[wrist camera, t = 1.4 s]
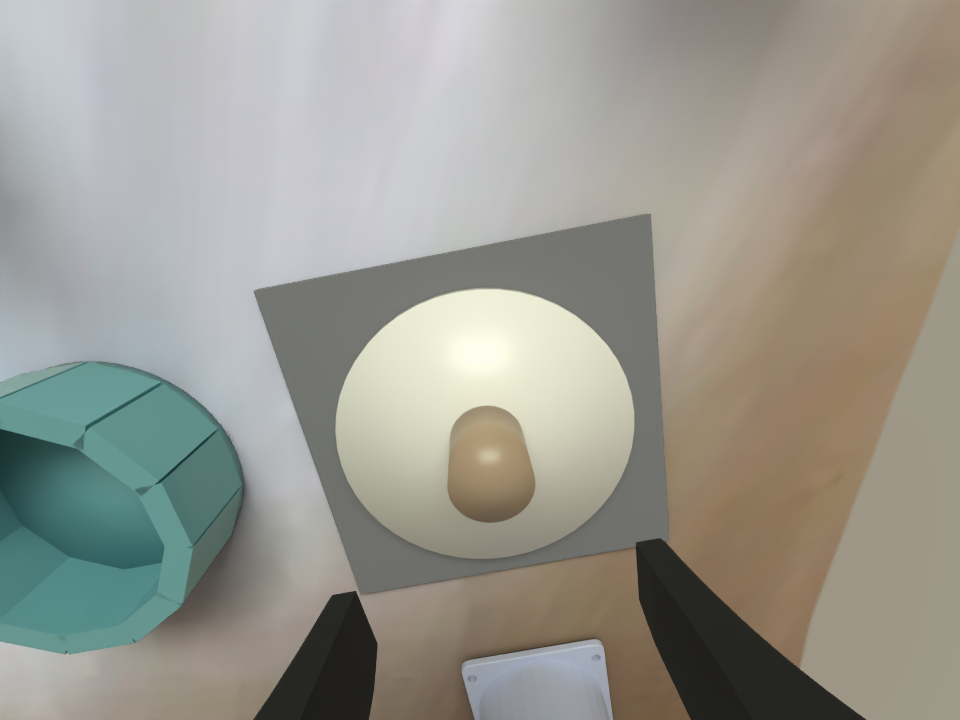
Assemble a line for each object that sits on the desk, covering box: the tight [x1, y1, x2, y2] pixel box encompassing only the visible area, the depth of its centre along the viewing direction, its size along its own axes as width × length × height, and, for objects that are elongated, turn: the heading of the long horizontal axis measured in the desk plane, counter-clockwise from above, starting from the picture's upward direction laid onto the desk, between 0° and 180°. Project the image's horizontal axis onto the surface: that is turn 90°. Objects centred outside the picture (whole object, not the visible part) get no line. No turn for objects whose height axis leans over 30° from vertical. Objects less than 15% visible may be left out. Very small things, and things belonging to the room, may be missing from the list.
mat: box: [254, 214, 669, 595], centre depth 21 cm, size 16×16×1 cm
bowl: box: [0, 362, 244, 654], centre depth 19 cm, size 11×11×4 cm
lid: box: [335, 288, 634, 559], centre depth 18 cm, size 13×13×4 cm
